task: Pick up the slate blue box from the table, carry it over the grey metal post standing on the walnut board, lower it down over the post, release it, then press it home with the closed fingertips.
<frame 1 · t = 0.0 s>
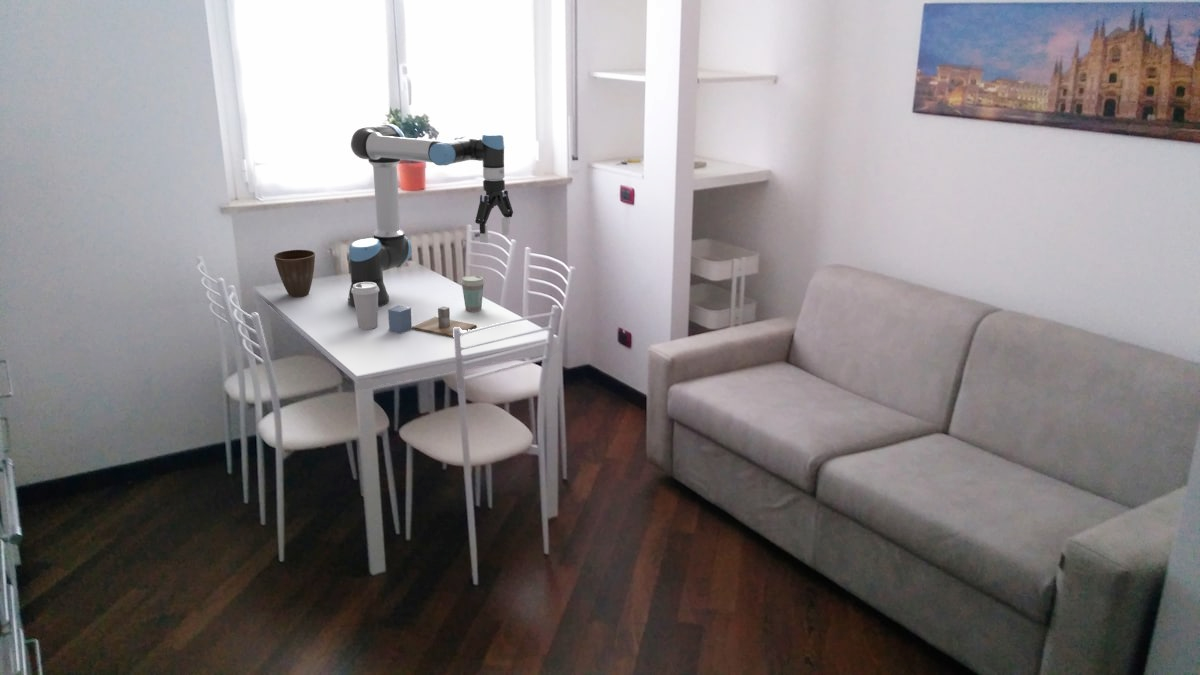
hand: (495, 238, 327), 28 cm above the table, fingers open, 13 cm apart
plant pot: (298, 295, 355), on the table
coffee cup 2: (368, 326, 320), on the table
post board: (444, 328, 320), on the table
slate blue box: (400, 329, 317), on the table
coffee cup: (473, 309, 341), on the table
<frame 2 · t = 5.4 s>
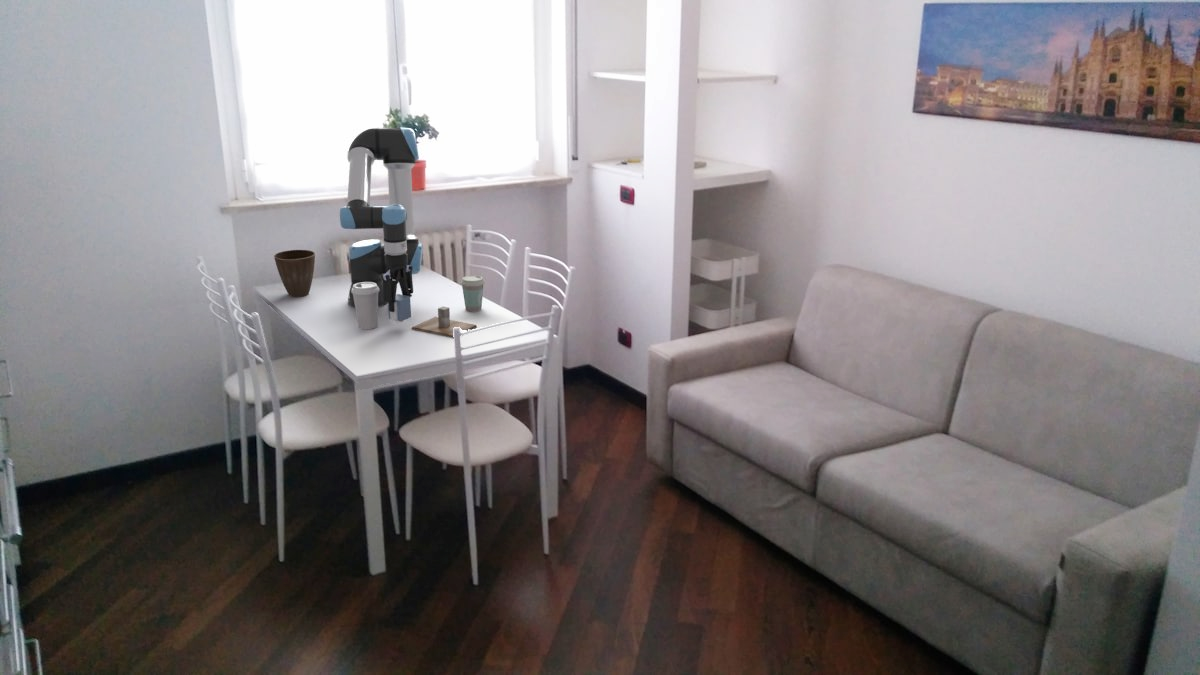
hand: (400, 317, 317), 4 cm above the table, fingers closed on slate blue box, 5 cm apart
slate blue box: (400, 318, 317), point 4 cm above the table, touching gripper
everything else where it was.
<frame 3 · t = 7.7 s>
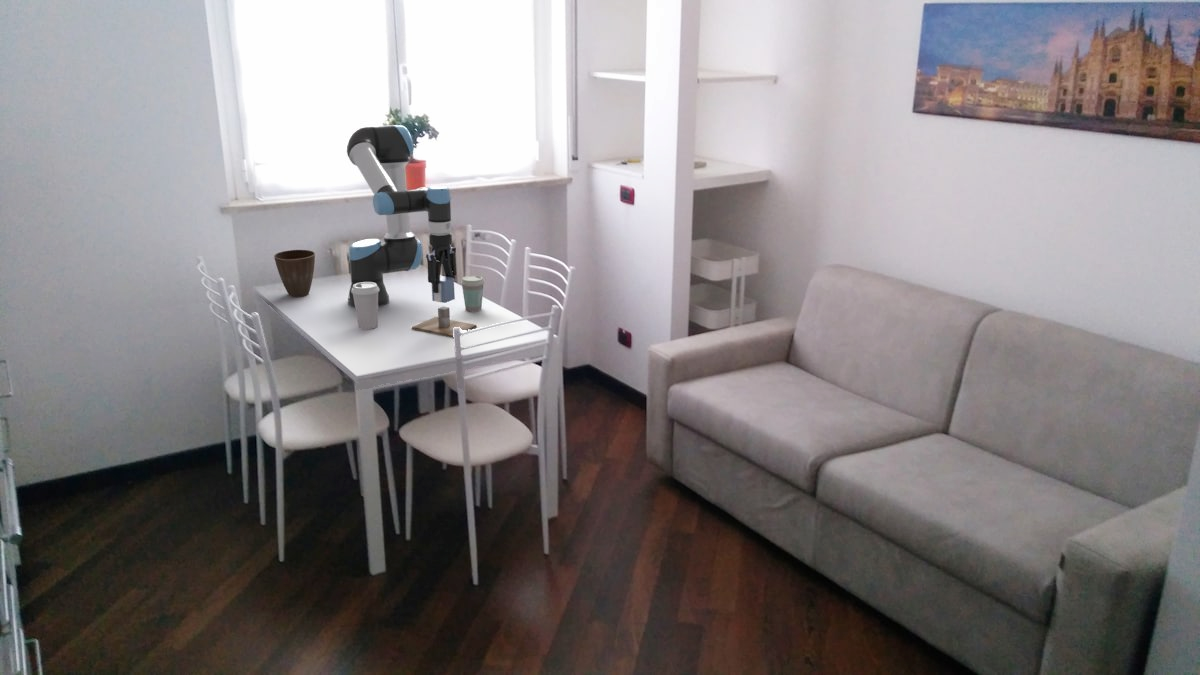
hand: (443, 299, 316), 11 cm above the table, fingers closed on slate blue box, 5 cm apart
slate blue box: (443, 299, 316), point 10 cm above the table, touching gripper
everything else where it was.
when the fingers open (2 cm above the table, at t = 10.0 s): slate blue box drops 1 cm, resting on post board.
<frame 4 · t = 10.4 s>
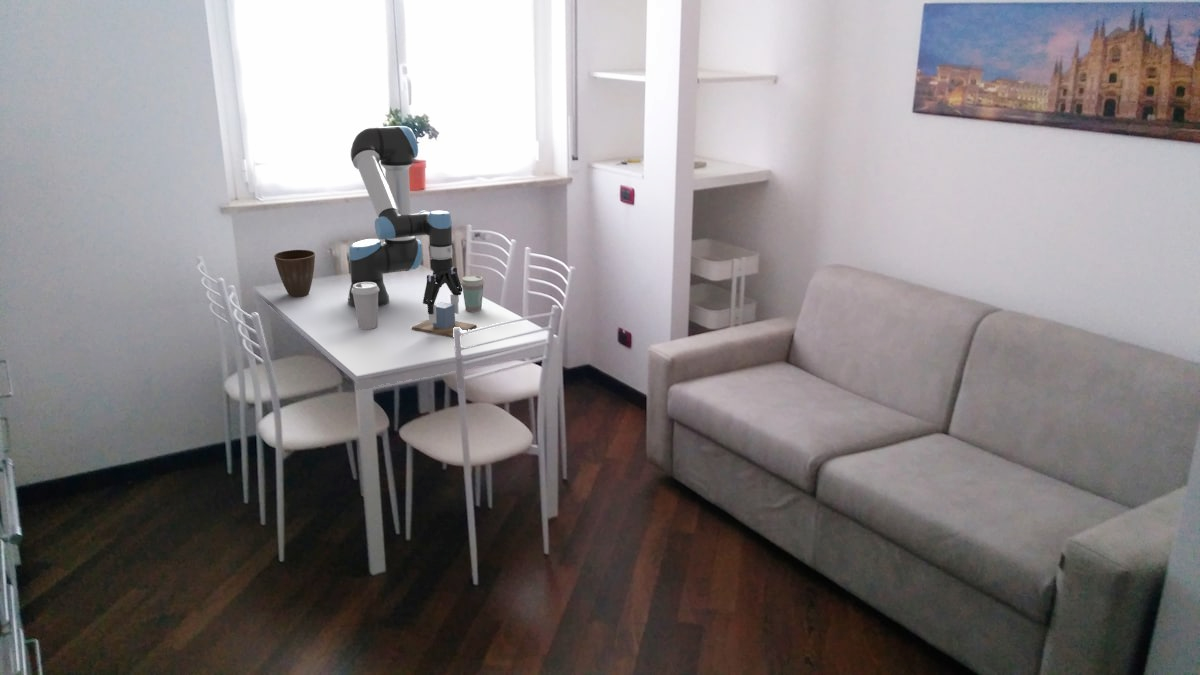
hand: (444, 317, 318), 4 cm above the table, fingers open, 12 cm apart
slate blue box: (444, 325, 319), point 1 cm above the table, touching post board
everything else where it was.
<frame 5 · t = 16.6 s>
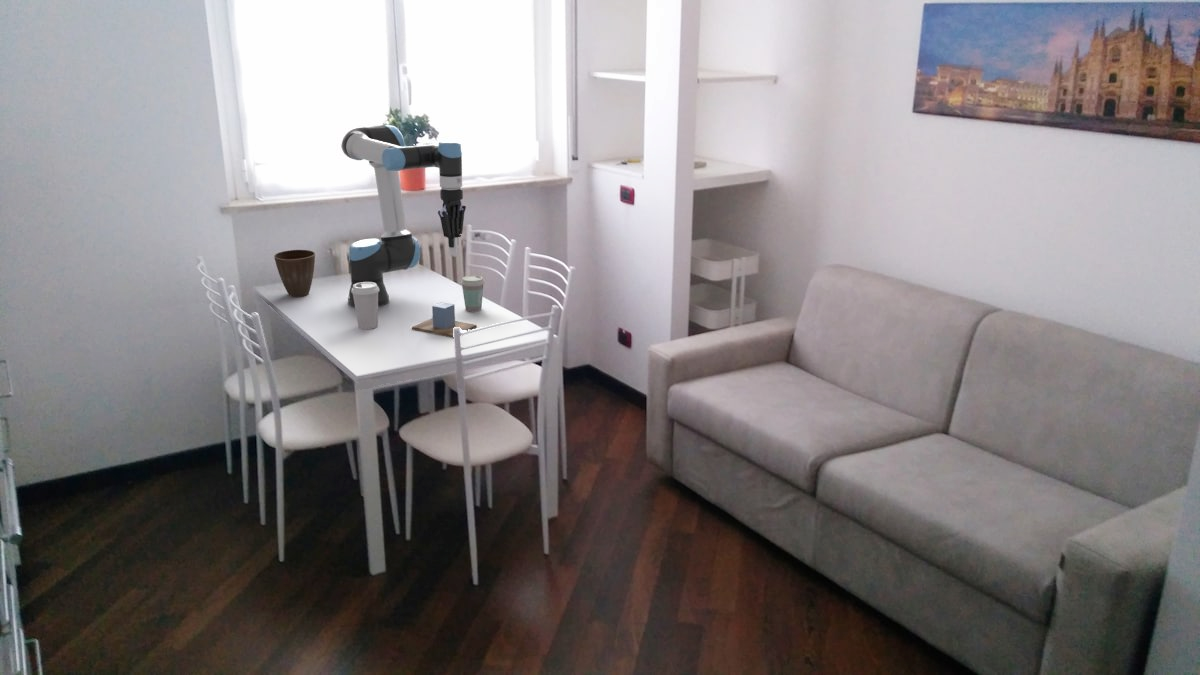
hand: (453, 255, 318), 24 cm above the table, fingers closed
nothing on the table moved.
at the end: slate blue box 0.1 cm from the post board (horizontally); slate blue box point 0.8 cm above the table; slate blue box tilted 0° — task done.
